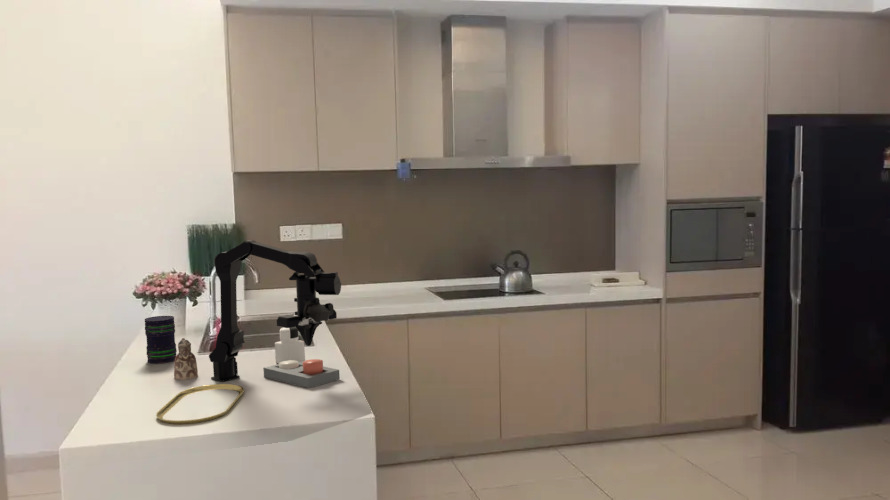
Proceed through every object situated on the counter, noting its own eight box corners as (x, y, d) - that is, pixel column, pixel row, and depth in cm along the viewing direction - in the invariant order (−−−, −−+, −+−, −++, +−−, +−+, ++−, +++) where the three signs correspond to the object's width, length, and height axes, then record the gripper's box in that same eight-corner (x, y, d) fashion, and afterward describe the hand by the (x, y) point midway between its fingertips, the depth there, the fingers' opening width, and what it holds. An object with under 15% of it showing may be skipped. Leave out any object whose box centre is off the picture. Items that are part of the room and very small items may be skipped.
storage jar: (167, 364, 265) (164, 320, 264) (141, 363, 267) (138, 320, 266) (182, 357, 275) (179, 315, 273) (157, 357, 277) (154, 315, 275)
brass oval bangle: (146, 428, 197) (145, 422, 197) (187, 390, 232) (187, 385, 232) (220, 425, 198) (220, 419, 198) (250, 388, 233) (250, 382, 232)
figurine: (173, 380, 243) (170, 342, 242) (175, 375, 250) (172, 338, 249) (197, 378, 245) (195, 340, 244) (198, 372, 252) (196, 336, 250)
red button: (311, 378, 232) (311, 364, 231) (299, 375, 236) (298, 362, 235) (327, 373, 236) (326, 360, 236) (314, 371, 240) (314, 358, 240)
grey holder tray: (308, 388, 228) (307, 378, 228) (264, 377, 243) (263, 367, 243) (339, 379, 237) (339, 369, 237) (295, 369, 252) (294, 360, 252)
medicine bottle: (291, 359, 266) (290, 324, 265) (305, 361, 262) (303, 326, 261) (275, 363, 261) (273, 328, 260) (289, 366, 256) (287, 330, 255)
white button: (287, 378, 240) (286, 365, 239) (275, 375, 244) (275, 363, 243) (303, 374, 244) (302, 362, 244) (291, 371, 248) (290, 359, 248)
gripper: (297, 301, 222) (300, 355, 223) (347, 292, 236) (349, 343, 237) (274, 298, 229) (276, 350, 231) (323, 289, 243) (325, 339, 245)
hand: (308, 345), depth 236 cm, fingers closed
